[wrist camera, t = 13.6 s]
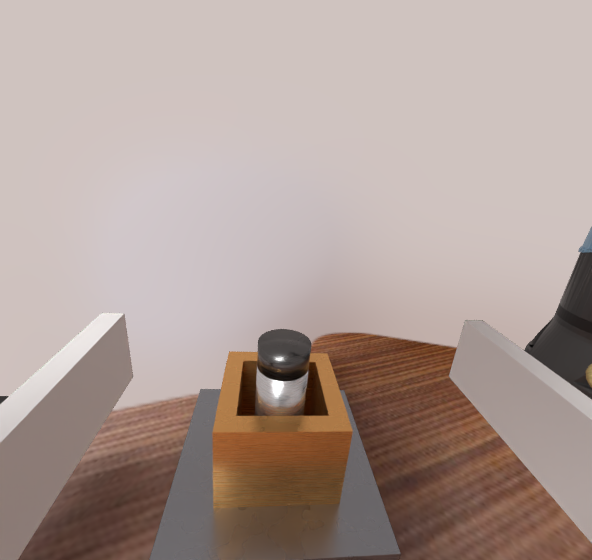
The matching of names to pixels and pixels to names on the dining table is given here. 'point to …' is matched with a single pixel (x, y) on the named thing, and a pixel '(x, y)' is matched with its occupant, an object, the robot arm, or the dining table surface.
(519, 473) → the dining table surface
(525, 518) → the dining table surface
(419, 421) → the dining table surface
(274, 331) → the capped glass tube
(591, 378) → the wall sconce
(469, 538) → the dining table surface
